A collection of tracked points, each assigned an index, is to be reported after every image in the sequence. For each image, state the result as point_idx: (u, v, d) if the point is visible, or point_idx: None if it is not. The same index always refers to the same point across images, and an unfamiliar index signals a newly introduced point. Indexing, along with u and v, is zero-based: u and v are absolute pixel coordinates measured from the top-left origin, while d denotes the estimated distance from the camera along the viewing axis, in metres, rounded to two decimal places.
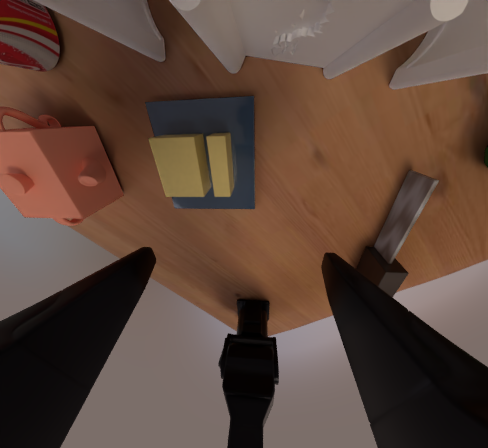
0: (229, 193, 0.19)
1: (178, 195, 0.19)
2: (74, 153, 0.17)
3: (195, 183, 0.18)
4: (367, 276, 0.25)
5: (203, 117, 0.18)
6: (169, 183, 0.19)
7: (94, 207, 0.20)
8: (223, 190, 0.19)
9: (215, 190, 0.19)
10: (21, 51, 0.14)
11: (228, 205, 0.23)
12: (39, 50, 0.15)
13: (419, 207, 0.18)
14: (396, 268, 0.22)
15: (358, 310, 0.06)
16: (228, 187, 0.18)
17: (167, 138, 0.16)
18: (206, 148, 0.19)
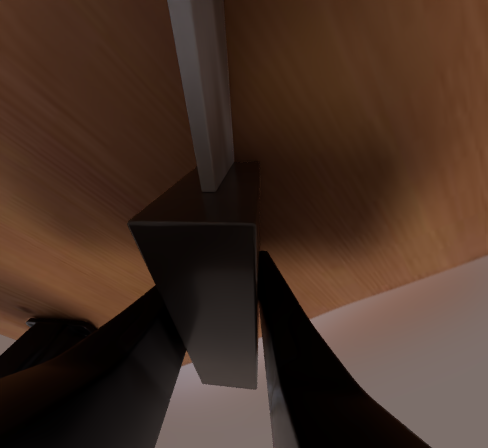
0: None
1: None
2: None
3: None
4: None
5: None
6: None
7: None
8: None
9: None
10: None
11: None
12: None
13: None
14: (212, 206, 0.04)
15: (262, 304, 0.06)
16: None
17: None
18: None
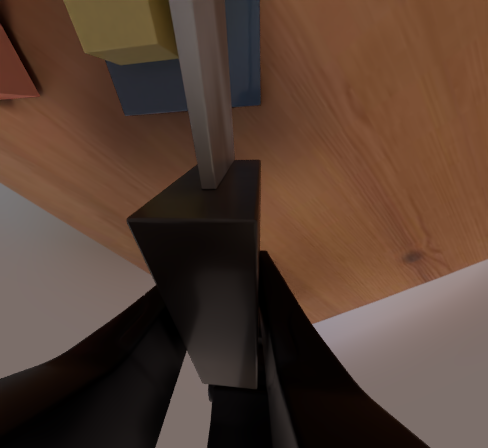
0: None
1: (107, 45, 0.10)
2: None
3: (135, 1, 0.09)
4: None
5: None
6: (83, 9, 0.09)
7: None
8: None
9: None
10: None
11: None
12: None
13: None
14: (213, 203, 0.04)
15: (262, 304, 0.06)
16: None
17: None
18: None
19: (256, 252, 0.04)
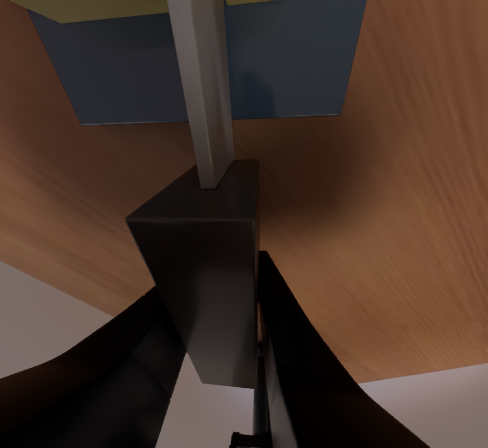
0: None
1: None
2: None
3: None
4: None
5: None
6: None
7: None
8: None
9: None
10: None
11: (249, 102, 0.07)
12: None
13: None
14: (212, 202, 0.04)
15: (262, 304, 0.06)
16: None
17: None
18: None
19: (255, 251, 0.04)
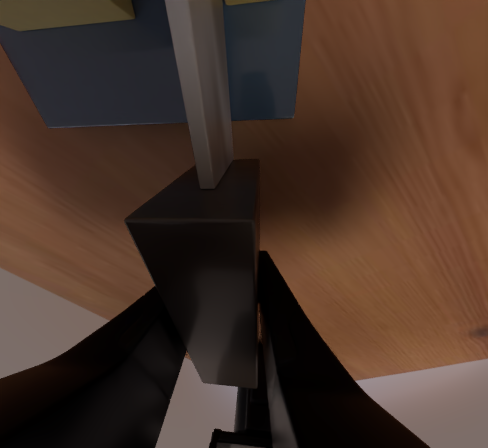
0: None
1: None
2: None
3: None
4: None
5: None
6: None
7: None
8: None
9: None
10: None
11: None
12: None
13: None
14: (211, 203, 0.04)
15: (262, 304, 0.06)
16: None
17: None
18: None
19: (254, 252, 0.04)
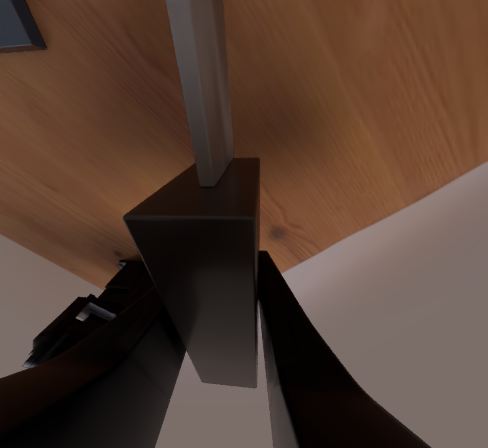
0: None
1: None
2: None
3: None
4: None
5: None
6: None
7: None
8: None
9: None
10: None
11: None
12: None
13: None
14: (211, 200, 0.04)
15: (262, 304, 0.06)
16: None
17: None
18: None
19: (255, 250, 0.03)
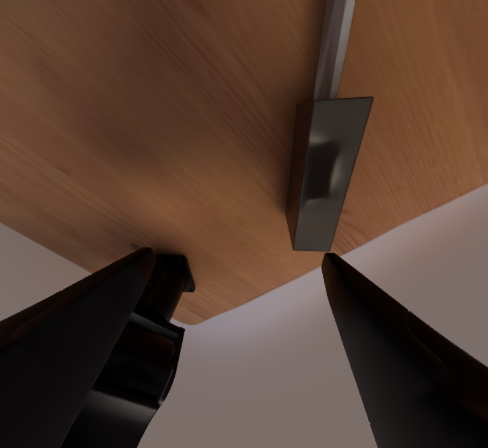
0: None
1: None
2: None
3: None
4: (296, 163, 0.12)
5: None
6: None
7: None
8: None
9: None
10: None
11: None
12: None
13: None
14: None
15: (358, 309, 0.06)
16: None
17: None
18: None
19: (368, 116, 0.08)
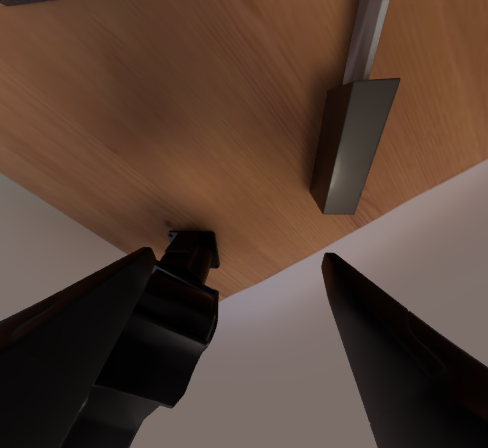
0: None
1: None
2: None
3: None
4: (328, 139, 0.14)
5: None
6: None
7: None
8: None
9: None
10: None
11: None
12: None
13: None
14: None
15: (358, 310, 0.06)
16: None
17: None
18: None
19: None
